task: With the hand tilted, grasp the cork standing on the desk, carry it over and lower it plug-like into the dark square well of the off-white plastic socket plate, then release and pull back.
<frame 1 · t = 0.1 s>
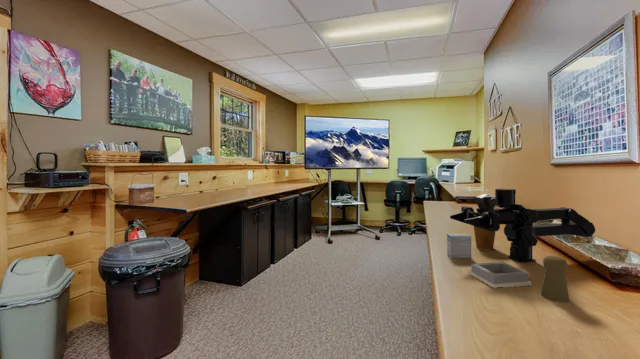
hand: (457, 219, 110), 17 cm above the table, tool horizontal, fingers open, 9 cm apart
disposable coffee cup: (484, 248, 130), on the table
cork: (554, 297, 82), on the table
medicine box: (459, 257, 119), on the table
socket plate: (498, 279, 95), on the table
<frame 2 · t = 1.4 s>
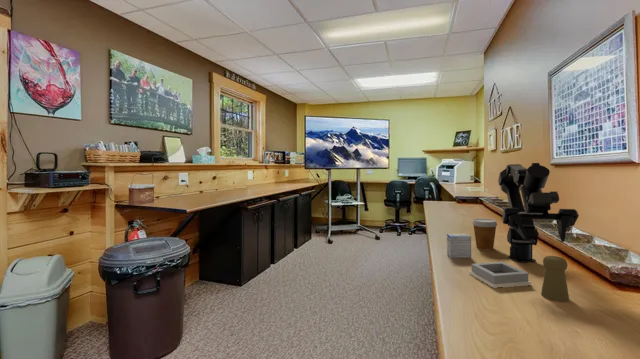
hand: (544, 240, 89), 14 cm above the table, tool tilted 45°, fingers open, 9 cm apart
nothing on the table moved.
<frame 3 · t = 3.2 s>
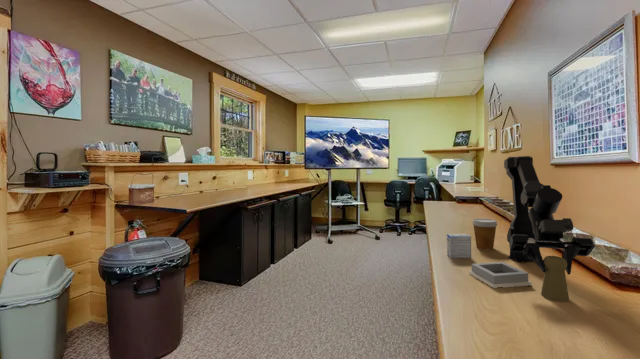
hand: (556, 272, 80), 7 cm above the table, tool tilted 45°, fingers closed on cork, 5 cm apart
cork: (554, 297, 82), on the table, touching gripper
everything else where it was.
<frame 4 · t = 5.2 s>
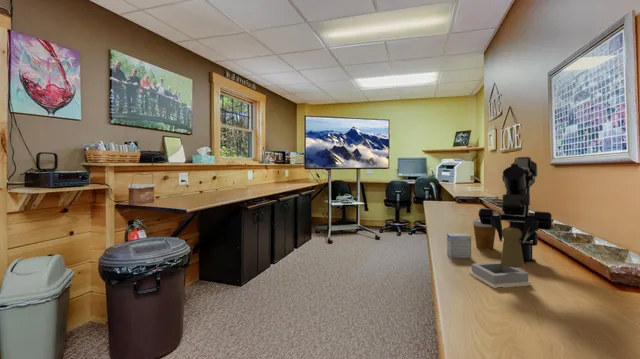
hand: (511, 241, 89), 13 cm above the table, tool tilted 45°, fingers closed on cork, 5 cm apart
cork: (512, 264, 91), point 6 cm above the table, touching gripper
everything else where it was.
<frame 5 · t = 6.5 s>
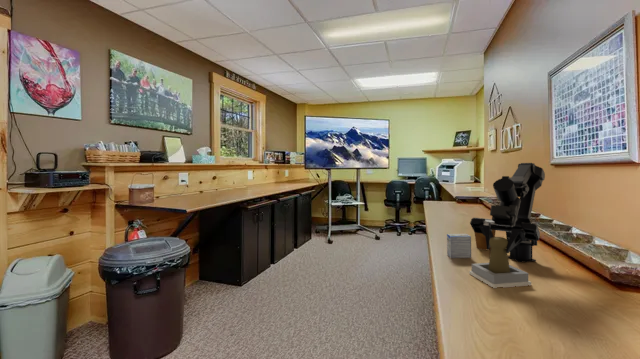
hand: (497, 250, 94), 9 cm above the table, tool tilted 45°, fingers closed on cork, 5 cm apart
cork: (499, 272, 95), point 2 cm above the table, touching gripper
everything else where it was.
when the fingers open (8 cm above the table, at t = 7.2 s): cork stays where it is, resting on socket plate.
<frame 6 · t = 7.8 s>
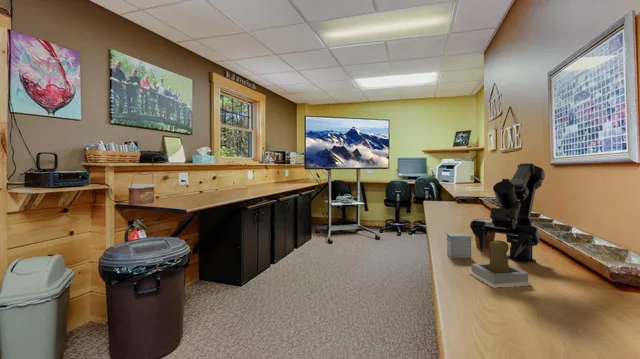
hand: (497, 253, 94), 9 cm above the table, tool tilted 45°, fingers open, 9 cm apart
cork: (499, 276, 95), point 1 cm above the table, touching socket plate
everything else where it was.
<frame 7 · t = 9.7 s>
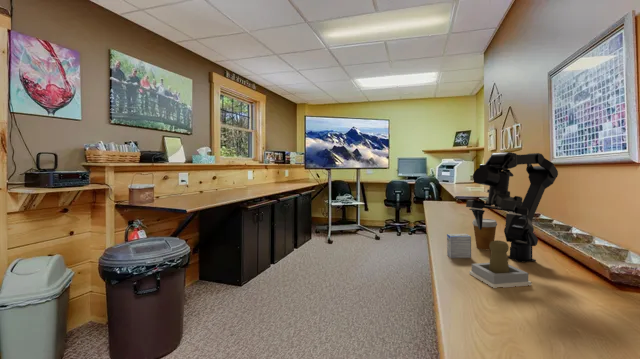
hand: (493, 231, 106), 12 cm above the table, tool pointing down, fingers open, 9 cm apart
nothing on the table moved.
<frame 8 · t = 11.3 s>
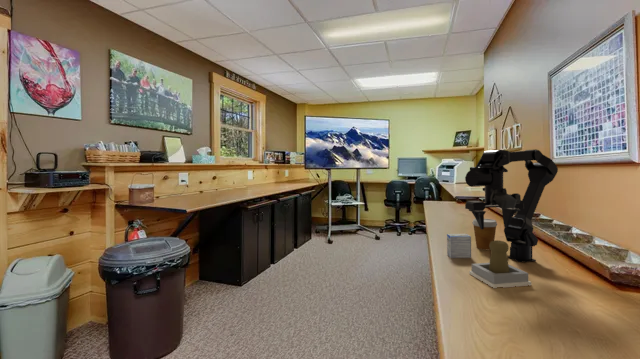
hand: (494, 228, 108), 13 cm above the table, tool pointing down, fingers open, 9 cm apart
nothing on the table moved.
at the end: cork 0.2 cm off-centre on the socket plate, point 0.9 cm above the socket plate's base; cork tilted 0°; the gripper is holding nothing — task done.
